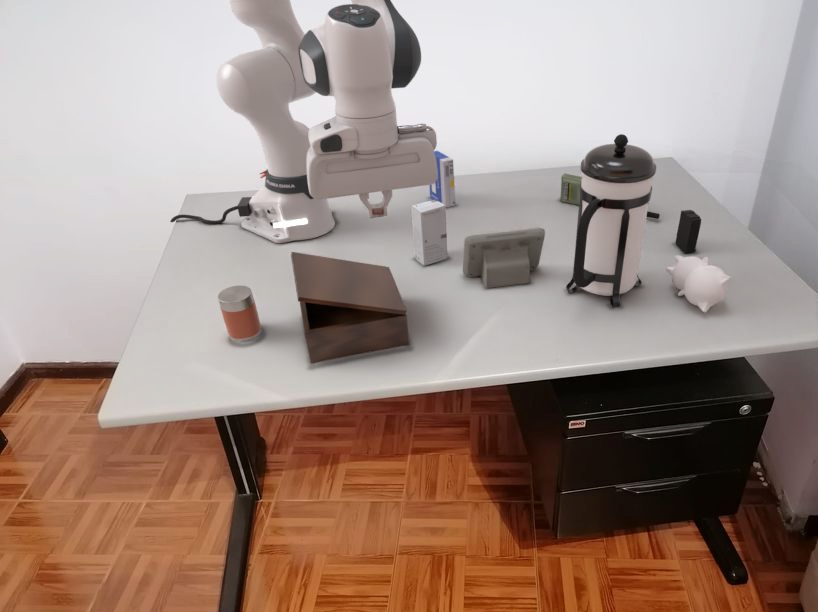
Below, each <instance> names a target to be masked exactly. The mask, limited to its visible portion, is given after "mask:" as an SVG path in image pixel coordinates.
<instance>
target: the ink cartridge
mask: <svg viewBox="0 0 818 612" xmlns="http://www.w3.org/2000/svg"><path fill="white" fill-rule="evenodd" d="M701 225H702V218H701V216H700V215H699V214H697V213H696V212H695V211H694V210H692V209H686V210H684V209H683V210H680V216H679V221H678V226H677V232H676V237H675V245H676V247H677V248H678V249H680V251H681V252H683V253H684V254H692V253H695V252H696V250H697V249H696V248H697V243H698V239H699V234H700V230H701Z"/></svg>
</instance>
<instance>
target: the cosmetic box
mask: <svg viewBox="0 0 818 612" xmlns="http://www.w3.org/2000/svg"><path fill="white" fill-rule="evenodd" d="M410 211H411V222H412V223H411V224H412V236H413V237H412V238H413V239H412V240H413V254H414V259H415V260H416V261H417V262H419V263H420V264H421V265H422V266H429V265H432V264H436V263H438V262H442V261H445V260H447V259H448V258H449V257H448V255H449V254H448V231H447V207H446V206H445V205H444V204H442V203H440V202H439V201H437V200H433V199H432V200H428V201H423V202H422V201H421V202H420V203H416V204H413V205H411V206H410Z"/></svg>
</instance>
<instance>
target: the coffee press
mask: <svg viewBox="0 0 818 612" xmlns="http://www.w3.org/2000/svg"><path fill="white" fill-rule="evenodd" d="M628 143H629V139H628V136H627V135H625V134H623V133H622V134H621V133H620V134H618V135H617V136H615V137H614V140H613V143H608V144H602V145H598V146H596V147H594V148H592V149H591V150H589V151H588V152H587V153H586V154H585V157H584V158H583V159H582V160H581V161H580V171H581V177H582V181H581V182H580V191H579V195H580V202H579V205H578V213H577V225H576V234H575V235H576V236H575V248H574V258H573V268H572V269H573V270H572V277H571V279H570V281H569V282H568V283H567V284H566V286H565V289H566V291H567V292H568V294H574V293H576V292H577V291H578V290H579V289H582V290H584V291H585V292H587V293H590V294H593V295H597V296H605V297H606V296H607V297H608V298H609V302H610V307H611V308H618V307H619V308H620V307H621V296H620V295H622V294H625V293H627V292H629V291H630V290H631V289H633V288H634V287H635V288H638V287H640V286H641V285H642V279H640V277H639V274H638V273H639V268H640V262H641V255H642V248H643V241H644V235H645V229H646V222H647V217H646V216H647V211H648V209H649V204H650V203H649V202H650V201H651V199H652V192H653V186H652V184H653V177H654V176H655V175H656V173H657V165H656V162H654V157H653V156H652V155H651V154H650V153H649V152H648V151H647V150H645V149H644V148H642V147H639V146H637V145H633V144H628ZM574 284H575V285H574ZM572 286H573V287H572Z"/></svg>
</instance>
